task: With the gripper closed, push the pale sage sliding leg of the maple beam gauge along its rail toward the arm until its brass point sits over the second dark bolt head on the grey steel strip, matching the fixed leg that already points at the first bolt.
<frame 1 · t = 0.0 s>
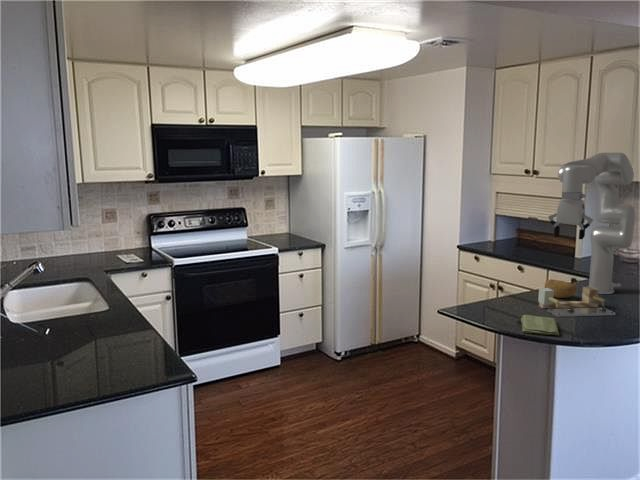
hand: (568, 237, 220), 31 cm above the counter, tool pointing down, fingers open, 9 cm apart
bolt plate: (580, 313, 221), on the counter
potato: (559, 298, 245), on the counter
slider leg: (550, 298, 225), point 5 cm above the counter, slide at 10.5 cm
washcloth: (539, 329, 202), on the counter
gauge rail: (568, 306, 230), on the counter
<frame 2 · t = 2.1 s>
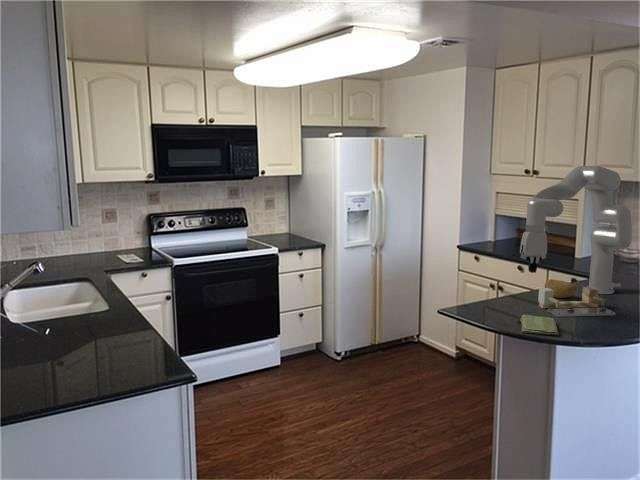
hand: (532, 272, 226), 16 cm above the counter, tool pointing down, fingers closed
nothing on the counter moved.
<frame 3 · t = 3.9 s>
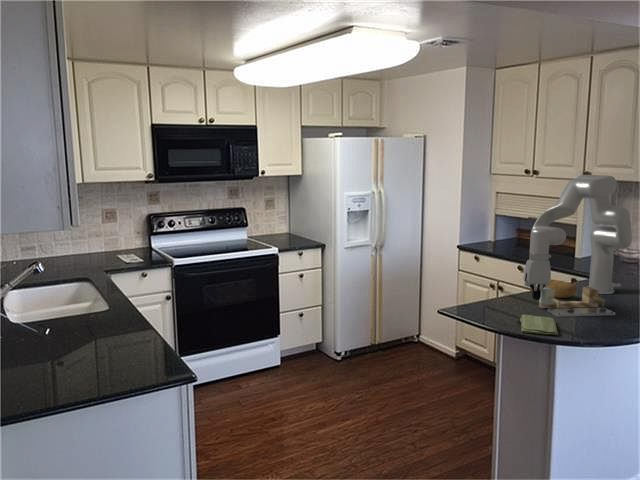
hand: (536, 299, 228), 4 cm above the counter, tool pointing down, fingers closed
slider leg: (551, 298, 225), point 5 cm above the counter, slide at 10.1 cm, touching gripper
everything else where it was.
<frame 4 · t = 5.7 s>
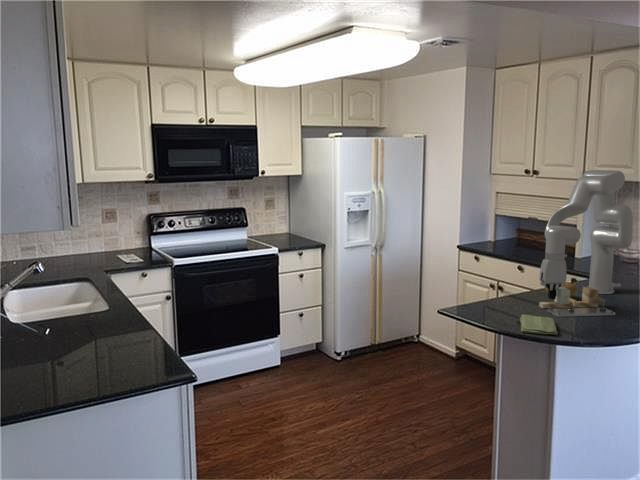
hand: (551, 298, 229), 4 cm above the counter, tool pointing down, fingers closed
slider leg: (567, 298, 225), point 5 cm above the counter, slide at 3.1 cm, touching gripper
everything else where it was.
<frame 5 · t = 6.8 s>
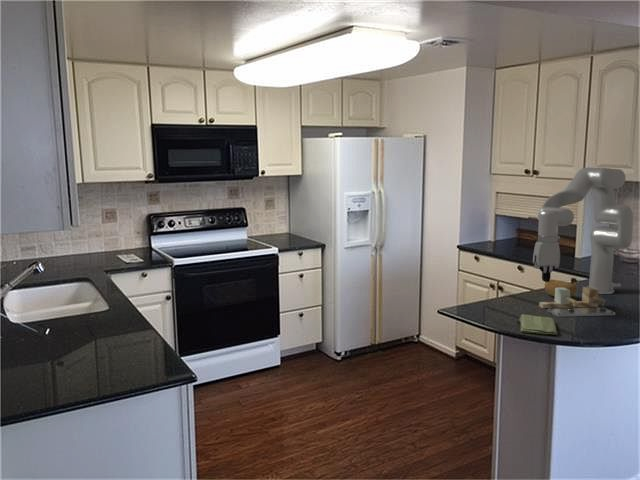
hand: (546, 281, 228), 12 cm above the counter, tool pointing down, fingers closed
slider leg: (567, 298, 225), point 5 cm above the counter, slide at 3.1 cm
everything else where it was.
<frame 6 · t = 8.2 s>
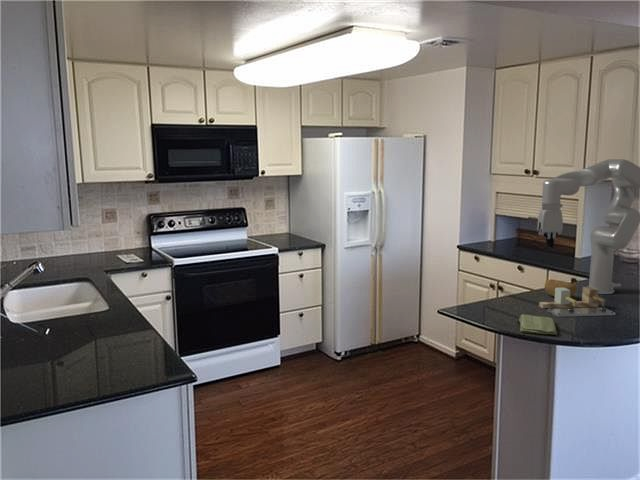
hand: (549, 247, 243), 24 cm above the counter, tool pointing down, fingers closed
nothing on the counter moved.
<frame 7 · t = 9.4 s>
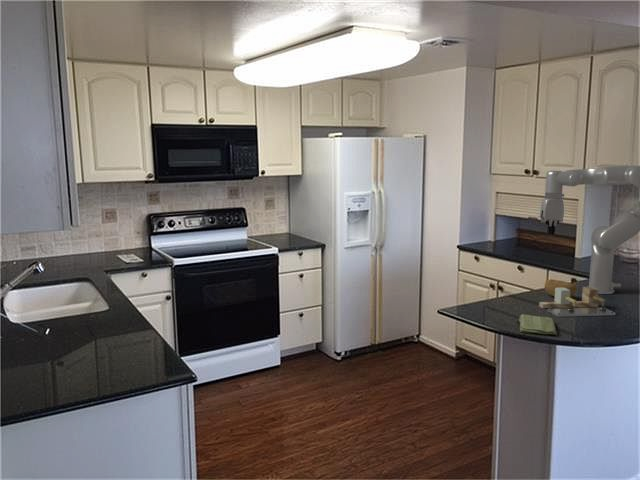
hand: (550, 234, 258), 27 cm above the counter, tool pointing down, fingers closed
nothing on the counter moved.
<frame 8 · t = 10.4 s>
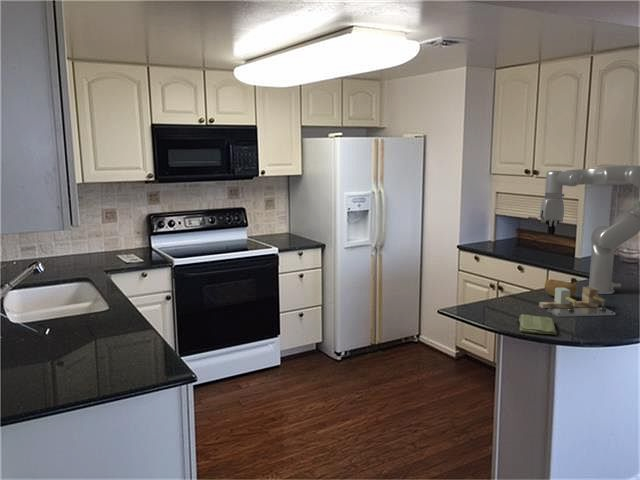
hand: (550, 234, 258), 27 cm above the counter, tool pointing down, fingers closed
nothing on the counter moved.
at the end: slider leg slide at 3.1 cm; the gripper is holding nothing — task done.
